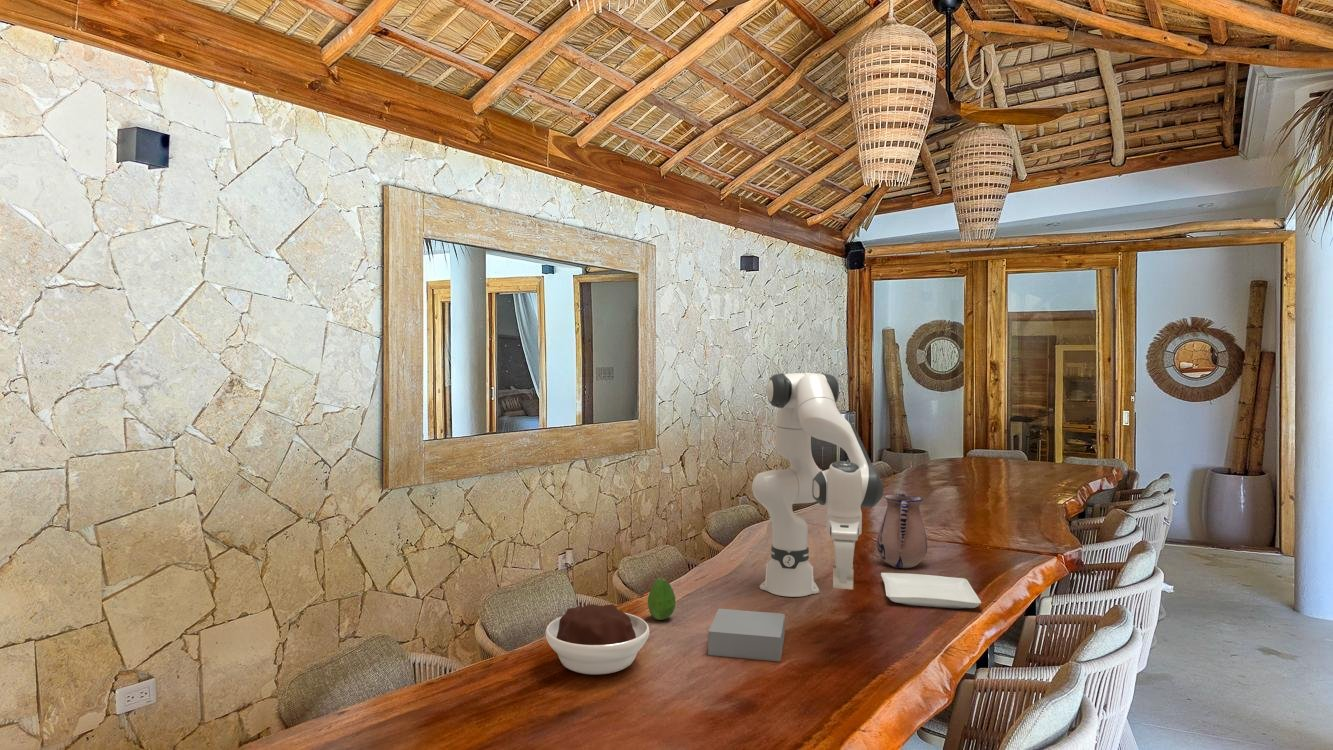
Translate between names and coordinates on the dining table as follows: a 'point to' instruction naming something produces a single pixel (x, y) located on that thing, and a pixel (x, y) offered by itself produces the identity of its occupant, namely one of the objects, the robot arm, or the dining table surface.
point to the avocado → (661, 599)
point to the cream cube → (837, 579)
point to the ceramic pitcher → (902, 532)
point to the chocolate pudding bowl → (597, 638)
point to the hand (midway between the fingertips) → (842, 579)
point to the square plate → (930, 590)
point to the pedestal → (747, 635)
